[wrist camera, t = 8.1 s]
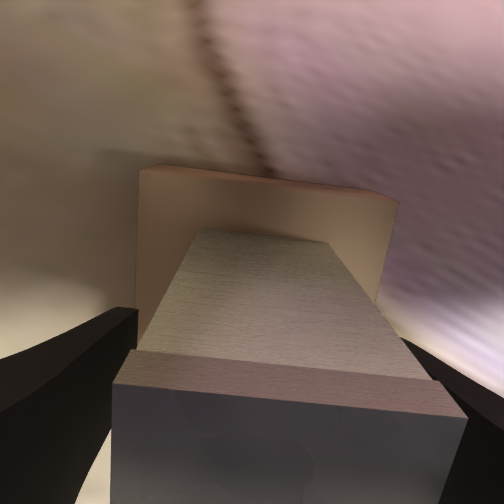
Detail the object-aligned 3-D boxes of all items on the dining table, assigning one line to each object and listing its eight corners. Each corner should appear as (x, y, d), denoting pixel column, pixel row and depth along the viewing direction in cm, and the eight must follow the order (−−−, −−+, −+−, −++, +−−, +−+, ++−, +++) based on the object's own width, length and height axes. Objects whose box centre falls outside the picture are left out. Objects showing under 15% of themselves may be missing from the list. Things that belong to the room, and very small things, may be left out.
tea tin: (329, 241, 13) (469, 418, 5) (307, 355, 15) (387, 645, 6) (198, 226, 13) (112, 383, 5) (188, 343, 15) (107, 626, 6)
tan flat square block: (371, 190, 16) (399, 202, 13) (332, 371, 18) (347, 414, 16) (159, 163, 15) (139, 169, 13) (149, 353, 18) (131, 393, 15)
